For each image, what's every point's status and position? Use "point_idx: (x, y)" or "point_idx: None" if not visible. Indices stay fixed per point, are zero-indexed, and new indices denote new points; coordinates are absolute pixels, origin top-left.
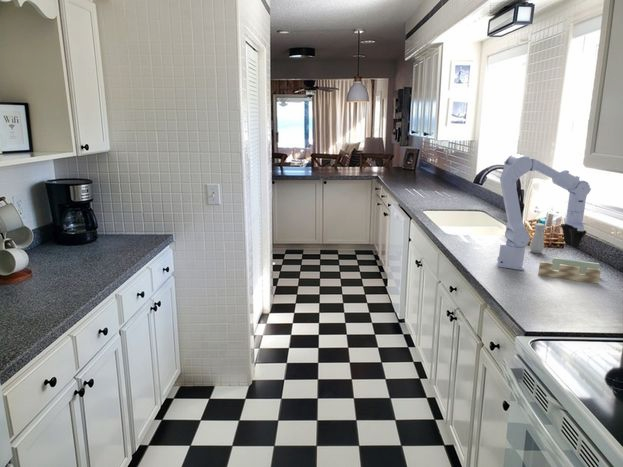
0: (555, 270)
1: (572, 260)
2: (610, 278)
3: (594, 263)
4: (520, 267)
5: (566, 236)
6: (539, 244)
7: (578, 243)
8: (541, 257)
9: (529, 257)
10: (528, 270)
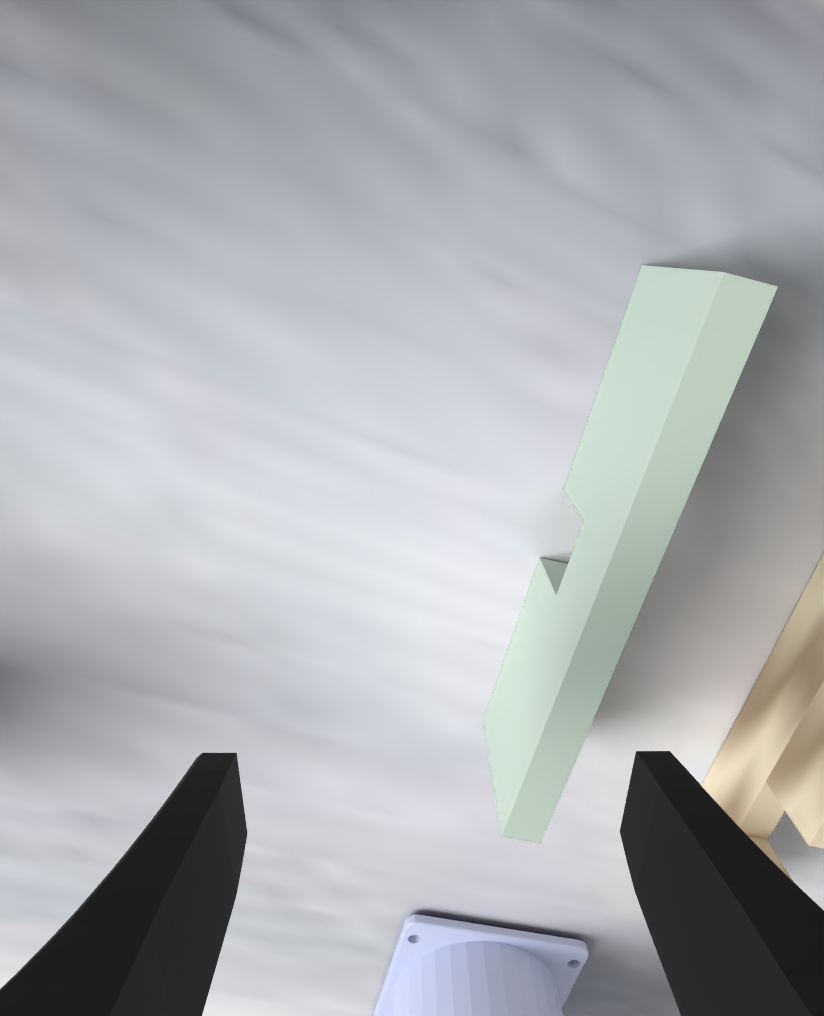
0: (768, 809)
1: (614, 649)
2: (741, 88)
3: (739, 364)
4: (543, 963)
5: (204, 954)
6: None
7: (726, 838)
8: (8, 681)
9: (80, 797)
10: (566, 901)
